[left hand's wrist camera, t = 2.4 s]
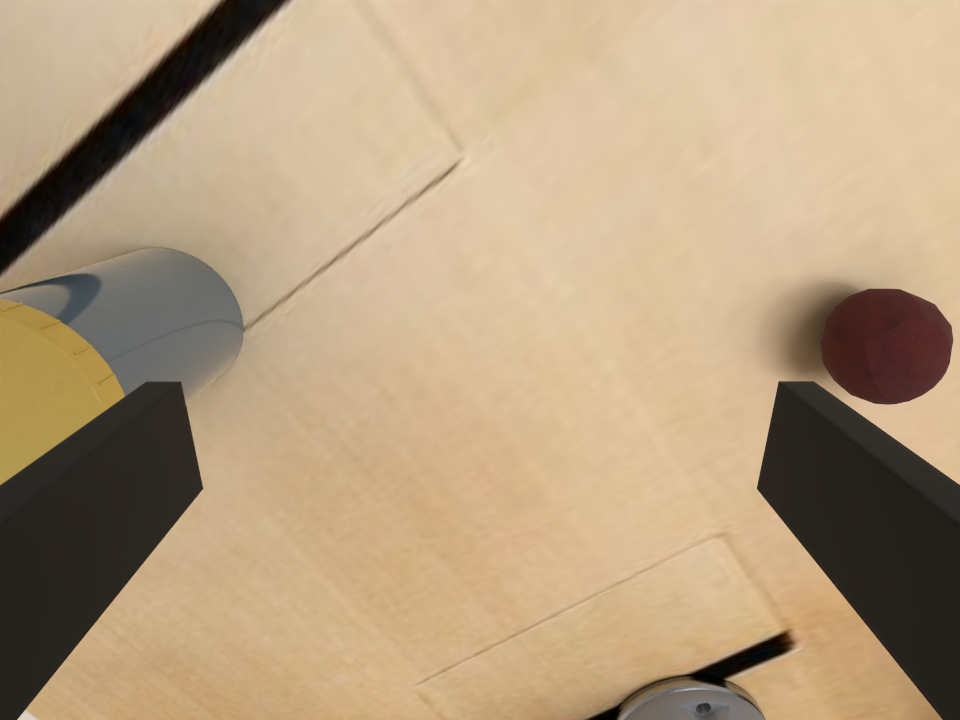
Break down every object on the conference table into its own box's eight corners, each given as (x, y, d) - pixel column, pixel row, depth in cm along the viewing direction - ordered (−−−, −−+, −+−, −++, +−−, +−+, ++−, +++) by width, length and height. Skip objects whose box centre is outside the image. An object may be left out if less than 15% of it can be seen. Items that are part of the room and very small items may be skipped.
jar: (273, 328, 41) (155, 432, 26) (181, 410, 43) (25, 548, 29) (159, 216, 38) (-44, 261, 23) (68, 310, 41) (-170, 406, 26)
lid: (181, 421, 27) (163, 437, 26) (45, 542, 30) (21, 563, 28) (-22, 244, 24) (-56, 250, 23) (-154, 395, 27) (-193, 410, 25)
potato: (823, 395, 43) (886, 440, 36) (782, 312, 40) (841, 345, 34) (919, 344, 41) (1002, 381, 35) (882, 255, 39) (964, 278, 32)
